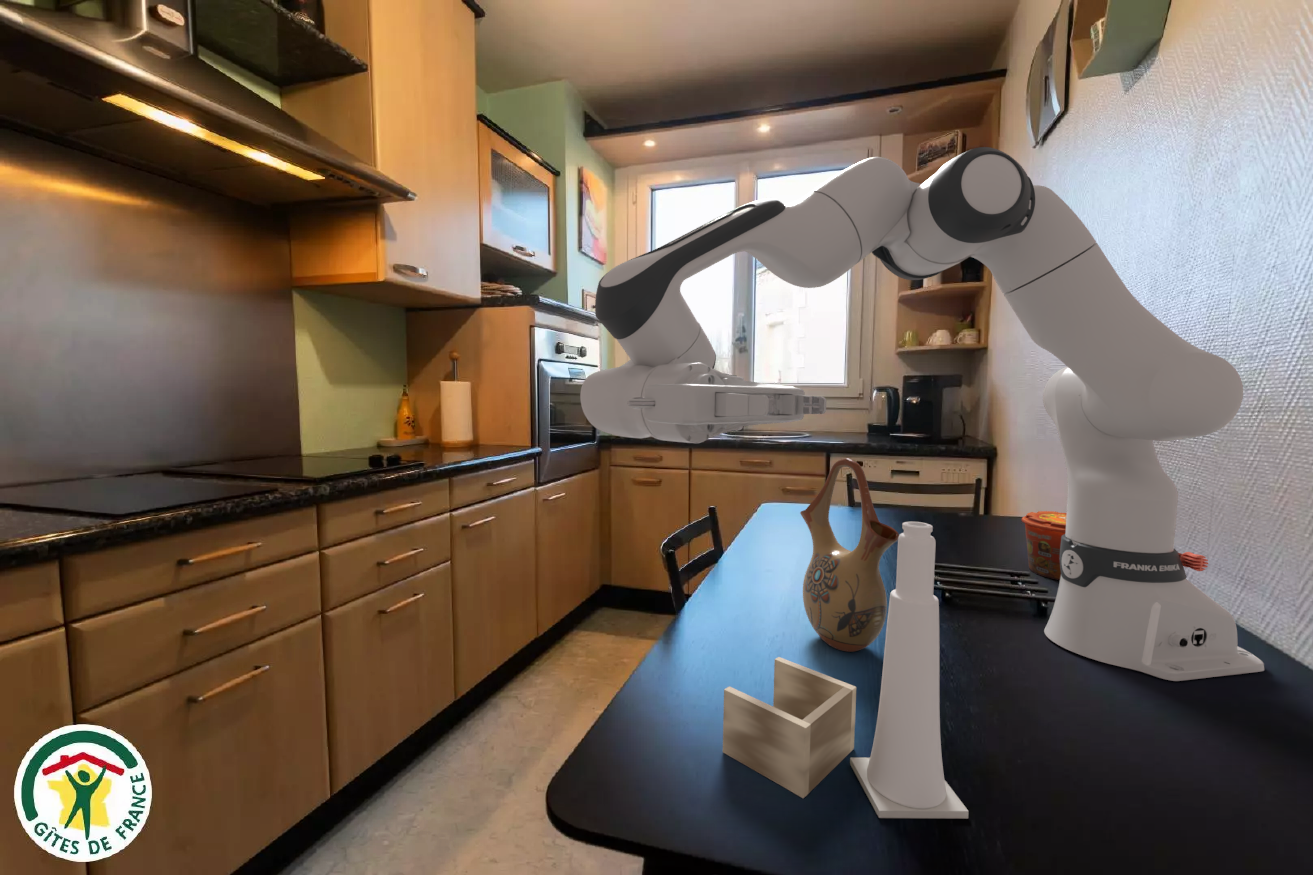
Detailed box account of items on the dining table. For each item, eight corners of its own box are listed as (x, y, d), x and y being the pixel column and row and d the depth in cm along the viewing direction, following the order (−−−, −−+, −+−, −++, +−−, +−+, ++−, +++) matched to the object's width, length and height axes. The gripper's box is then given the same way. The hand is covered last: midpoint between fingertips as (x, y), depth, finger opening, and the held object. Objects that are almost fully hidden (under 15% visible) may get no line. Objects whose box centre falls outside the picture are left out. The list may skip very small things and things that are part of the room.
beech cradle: (722, 752, 51) (724, 689, 51) (777, 712, 58) (778, 656, 57) (803, 798, 45) (805, 727, 45) (853, 748, 52) (856, 686, 51)
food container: (999, 562, 112) (1002, 510, 112) (1071, 561, 114) (1075, 509, 113) (1066, 590, 97) (1070, 529, 96) (1148, 587, 98) (1153, 528, 98)
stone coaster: (927, 764, 50) (928, 757, 50) (968, 818, 43) (968, 811, 43) (849, 763, 50) (850, 757, 50) (879, 817, 43) (879, 810, 43)
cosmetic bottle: (960, 790, 46) (974, 526, 44) (920, 821, 42) (934, 537, 41) (893, 751, 51) (903, 513, 49) (851, 776, 47) (861, 521, 46)
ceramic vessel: (916, 665, 68) (926, 463, 66) (860, 679, 65) (869, 466, 63) (825, 616, 83) (831, 451, 81) (776, 626, 80) (781, 453, 78)
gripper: (617, 370, 54) (732, 366, 44) (741, 377, 69) (848, 375, 59) (617, 434, 55) (730, 444, 45) (740, 428, 69) (846, 434, 59)
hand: (798, 405), depth 52 cm, fingers open, 8 cm apart
